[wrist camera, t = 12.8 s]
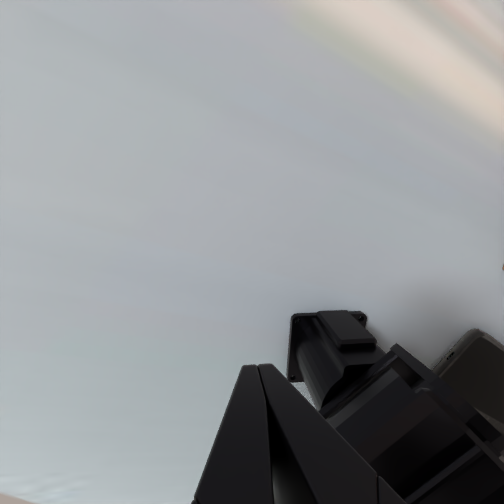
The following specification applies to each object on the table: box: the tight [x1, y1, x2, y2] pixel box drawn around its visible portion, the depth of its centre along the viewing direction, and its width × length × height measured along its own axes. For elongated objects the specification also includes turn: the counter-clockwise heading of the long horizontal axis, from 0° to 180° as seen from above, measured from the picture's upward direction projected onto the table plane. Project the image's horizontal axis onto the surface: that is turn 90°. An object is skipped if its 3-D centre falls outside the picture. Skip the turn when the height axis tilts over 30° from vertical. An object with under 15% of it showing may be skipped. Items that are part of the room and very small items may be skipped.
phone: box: [432, 329, 504, 436], centre depth 25 cm, size 8×1×15 cm
